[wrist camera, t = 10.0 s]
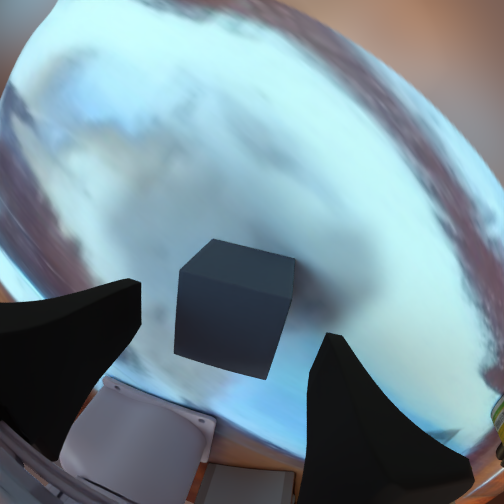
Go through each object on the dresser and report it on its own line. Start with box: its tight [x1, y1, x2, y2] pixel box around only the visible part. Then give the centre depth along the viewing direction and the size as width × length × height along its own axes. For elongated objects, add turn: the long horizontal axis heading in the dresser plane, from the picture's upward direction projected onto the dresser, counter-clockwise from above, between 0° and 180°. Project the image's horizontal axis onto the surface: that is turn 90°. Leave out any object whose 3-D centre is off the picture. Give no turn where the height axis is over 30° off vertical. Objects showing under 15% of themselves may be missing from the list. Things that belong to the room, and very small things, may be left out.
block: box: [174, 239, 295, 380], centre depth 12 cm, size 4×4×4 cm
